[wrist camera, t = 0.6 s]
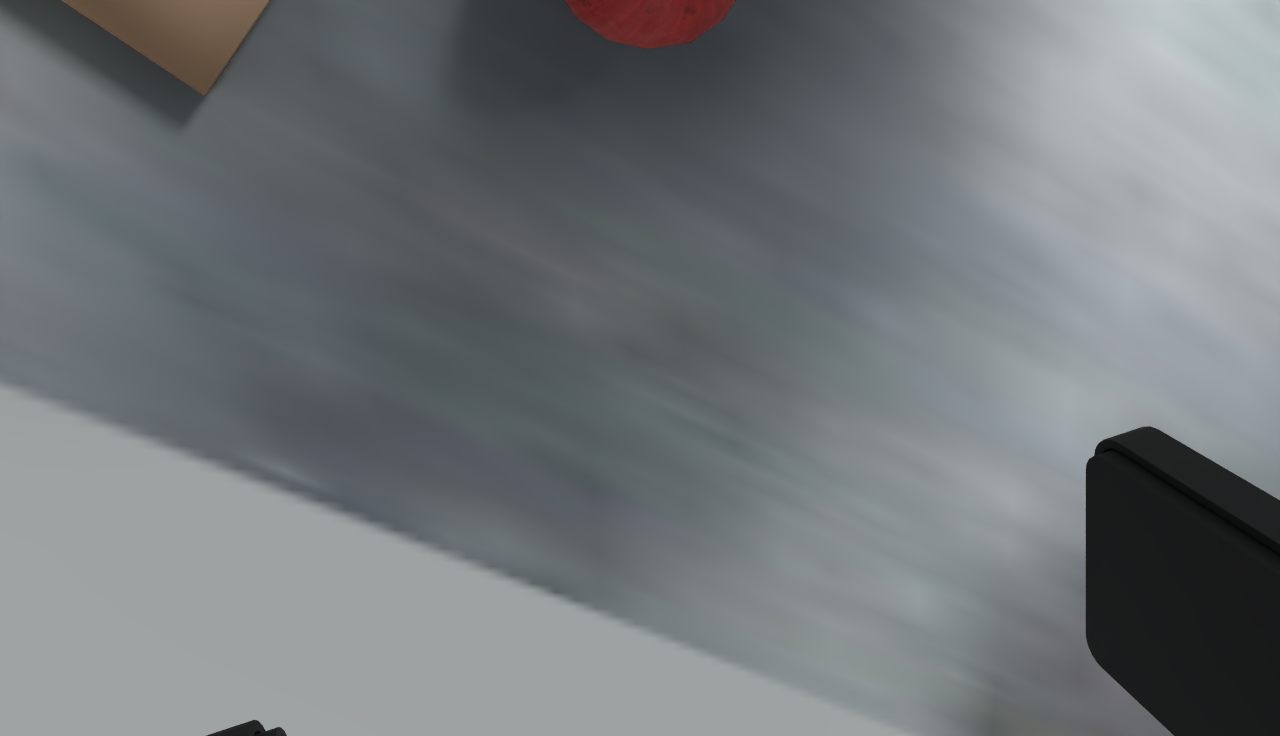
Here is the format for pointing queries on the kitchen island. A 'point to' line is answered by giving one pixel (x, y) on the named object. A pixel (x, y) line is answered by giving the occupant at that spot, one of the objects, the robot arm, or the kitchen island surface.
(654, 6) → the red round fruit
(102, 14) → the cutting board
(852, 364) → the kitchen island surface
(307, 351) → the kitchen island surface
